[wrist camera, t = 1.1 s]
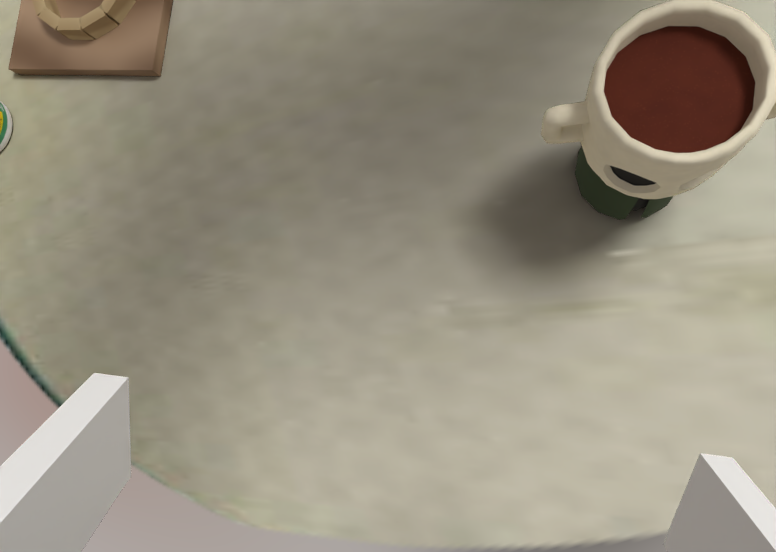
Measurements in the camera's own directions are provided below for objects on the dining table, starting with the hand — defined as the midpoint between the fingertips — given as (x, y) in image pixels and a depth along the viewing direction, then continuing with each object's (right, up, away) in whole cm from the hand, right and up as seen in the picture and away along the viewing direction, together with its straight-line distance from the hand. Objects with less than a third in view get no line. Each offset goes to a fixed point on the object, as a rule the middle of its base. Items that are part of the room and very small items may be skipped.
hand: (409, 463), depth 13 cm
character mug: (+15, +11, +22) cm, 29 cm away
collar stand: (-24, +28, +34) cm, 50 cm away
